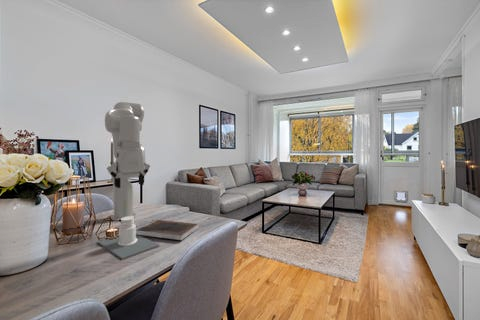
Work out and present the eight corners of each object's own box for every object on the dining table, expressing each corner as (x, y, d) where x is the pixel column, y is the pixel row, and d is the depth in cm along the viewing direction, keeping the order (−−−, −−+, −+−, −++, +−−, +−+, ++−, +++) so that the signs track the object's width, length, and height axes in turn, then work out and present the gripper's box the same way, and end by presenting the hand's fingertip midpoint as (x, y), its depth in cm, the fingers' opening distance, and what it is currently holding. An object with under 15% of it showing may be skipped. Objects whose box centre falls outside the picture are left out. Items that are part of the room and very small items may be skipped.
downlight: (119, 239, 92) (119, 215, 91) (138, 237, 94) (138, 214, 93) (116, 248, 84) (115, 222, 83) (136, 245, 87) (136, 220, 86)
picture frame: (136, 235, 96) (181, 241, 91) (136, 229, 96) (181, 235, 91) (158, 224, 112) (198, 228, 107) (158, 219, 112) (198, 223, 107)
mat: (97, 242, 89) (97, 241, 89) (132, 233, 100) (132, 231, 100) (122, 259, 76) (122, 258, 76) (159, 246, 87) (159, 244, 87)
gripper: (111, 145, 83) (111, 190, 84) (153, 146, 97) (153, 184, 98) (103, 144, 88) (103, 187, 89) (145, 145, 101) (145, 182, 103)
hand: (130, 185), depth 94 cm, fingers open, 9 cm apart
